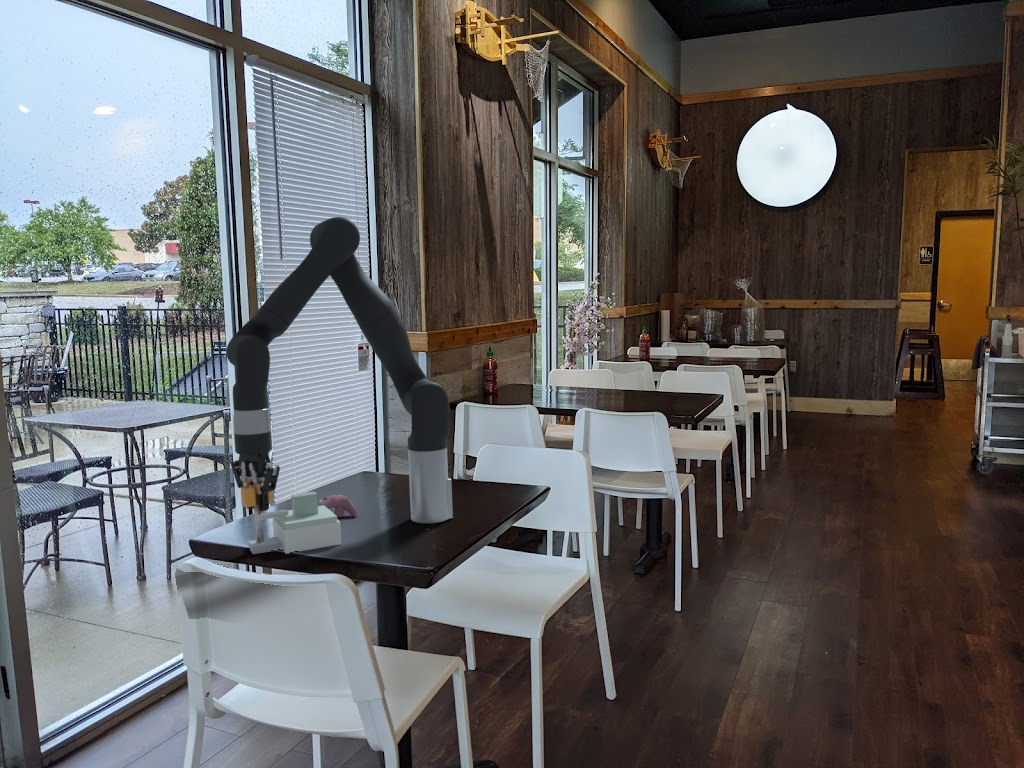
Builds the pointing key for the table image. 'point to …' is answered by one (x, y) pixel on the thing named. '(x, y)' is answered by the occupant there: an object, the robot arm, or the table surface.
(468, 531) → the table surface
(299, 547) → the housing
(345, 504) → the pink animal figurine
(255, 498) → the t key
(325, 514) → the cover
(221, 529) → the table surface
